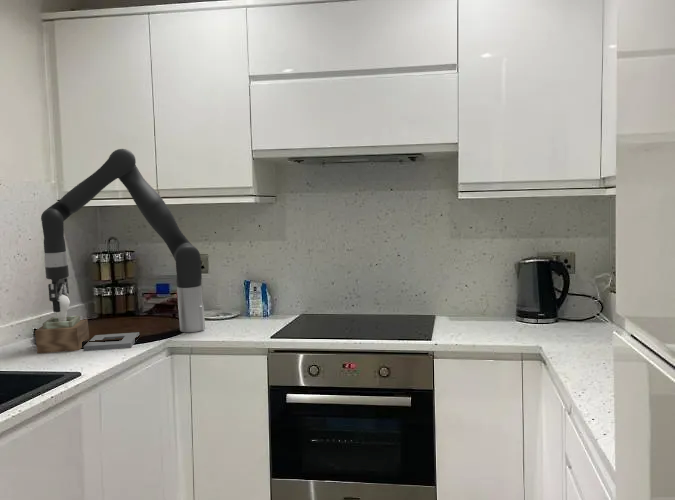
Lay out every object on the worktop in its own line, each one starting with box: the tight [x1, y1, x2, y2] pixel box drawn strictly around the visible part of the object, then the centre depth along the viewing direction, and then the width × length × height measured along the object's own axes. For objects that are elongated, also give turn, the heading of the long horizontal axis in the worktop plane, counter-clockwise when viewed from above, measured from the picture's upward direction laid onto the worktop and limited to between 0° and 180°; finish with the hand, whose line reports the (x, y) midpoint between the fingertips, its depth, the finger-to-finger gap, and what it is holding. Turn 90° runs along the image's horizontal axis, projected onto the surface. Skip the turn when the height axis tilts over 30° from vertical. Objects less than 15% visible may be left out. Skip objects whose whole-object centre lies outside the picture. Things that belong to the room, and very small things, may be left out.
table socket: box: [83, 331, 140, 352], centre depth 236 cm, size 16×16×2 cm
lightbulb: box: [50, 295, 71, 322], centre depth 233 cm, size 6×6×11 cm
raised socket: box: [34, 315, 90, 354], centre depth 234 cm, size 14×14×10 cm
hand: (60, 309), depth 233 cm, fingers open, 8 cm apart
